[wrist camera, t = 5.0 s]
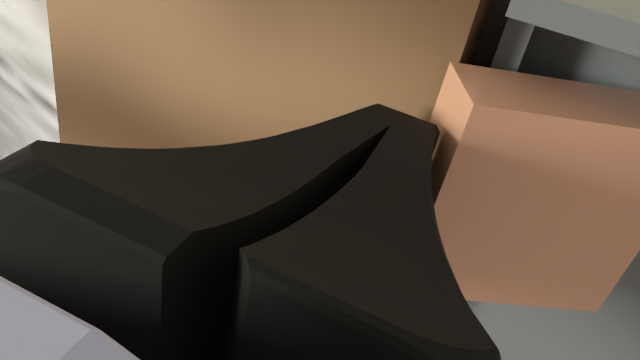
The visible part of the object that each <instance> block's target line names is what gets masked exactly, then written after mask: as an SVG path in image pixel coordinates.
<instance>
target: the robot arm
mask: <svg viewBox="0 0 640 360" xmlns="http://www.w3.org/2000/svg"><path fill="white" fill-rule="evenodd" d="M439 134H440V131H439V129H438V127H437V125H436V124H433V123H430V122H428V121H425V120H422V119H419V118H417V117H414V116H411V115H408V114H406V113H403V112H400V111H397V110H395V109H392V108H389V107H386V106H384V105H381V104H374V105H371V106H368V107H365V108H362V109H359V110H356V111H353V112H350V113H348V114H345V115H342V116H339V117H336V118H333V119H330V120H327V121H324V122H321V123H318V124H315V125H312V126H308V127H304V128H301V129H297V130H293V131H290V132H286V133H282V134H279V135H275V136H270V137H266V138H261V139H256V140H250V141H244V142H238V143H231V144H223V145H213V146H199V147H185V148H160V149H142V148H113V147H98V146H87V145H77V144H67V143H56V142H47V141H40V140H37V141H35V142H33V143H32V144H30V145H28V146H26V147H24V148H22V149H20V150H19V151H17V152H15V153H13V154H11V155H9V156H7V157H6V158H4V159H2V160H0V360H501V355H500V352H499V350H498V348H497V346H496V345H495V343H494V342H493V340H492V339H491V337H490V336H489V335H488V333H487V332H486V330H485V329H484V327H483V326H482V324H481V323H480V322H479V320H478V319H477V317H476V316H475V314H474V313H473V311H472V310H471V308H470V307H469V305H468V303H467V301H466V299H465V298H464V296H463V294H462V292H461V290H460V287H459V285H458V283H457V280H456V278H455V276H454V273H453V271H452V269H451V266H450V264H449V262H448V259H447V256H446V253H445V250H444V247H443V244H442V241H441V237H440V233H439V229H438V225H437V221H436V216H435V210H434V203H433V194H432V155H433V152H434V149H435V146H436V143H437V140H438V137H439Z"/></svg>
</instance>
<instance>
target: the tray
mask: <svg viewBox="0 0 640 360" xmlns="http://www.w3.org/2000/svg"><path fill="white" fill-rule="evenodd" d="M505 16H506V17H509V18H508V20H507V23H506V26H505V28H504V31H503V34H502V37H501V39H500V42H499V45H498V48H497V50H496V53H495V56H494V58H493V61H492V64H491V67H490V68H494V69H501V70H507V71H513V72H520V73H526V74H532V75H539V76H545V77H551V78H558V79H564V80H570V81H577V82H583V83H589V84H596V85H602V86H608V87H615V88H621V89H627V90H634V91H640V0H511V1H510V4H509V7H508V9H507V12H506V15H505ZM466 301H467V300H466ZM467 303H468V305H469V307H470V308H471V310H472V311H473V313H474V314H475V316H476V317H477V319H478V320H479V322H480V323H481V324H482V326H483V327H484V329H485V330H486V332H487V333H488V335H489V336H490V337H491V339H492V340H493V342H494V343H495V345H496V346H497V348H498V350H499V352H500V355H501V360H640V250H639V252H638V253H637V255H636V256H635V258H634V259H633V261H632V262H631V263H630V265H629V266H628V268H627V269H626V271H625V272H624V274H623V275H622V276H621V278H620V279H619V281H618V282H617V284H616V285H615V287H614V288H613V289H612V291H611V292H610V294H609V295H608V297H607V298H606V299H605V301H604V302H603V304H602V305H601V307H600V308H599V310H598V311H597V312H592V311H580V310H569V309H558V308H546V307H535V306H524V305H513V304H501V303H490V302H479V301H467Z"/></svg>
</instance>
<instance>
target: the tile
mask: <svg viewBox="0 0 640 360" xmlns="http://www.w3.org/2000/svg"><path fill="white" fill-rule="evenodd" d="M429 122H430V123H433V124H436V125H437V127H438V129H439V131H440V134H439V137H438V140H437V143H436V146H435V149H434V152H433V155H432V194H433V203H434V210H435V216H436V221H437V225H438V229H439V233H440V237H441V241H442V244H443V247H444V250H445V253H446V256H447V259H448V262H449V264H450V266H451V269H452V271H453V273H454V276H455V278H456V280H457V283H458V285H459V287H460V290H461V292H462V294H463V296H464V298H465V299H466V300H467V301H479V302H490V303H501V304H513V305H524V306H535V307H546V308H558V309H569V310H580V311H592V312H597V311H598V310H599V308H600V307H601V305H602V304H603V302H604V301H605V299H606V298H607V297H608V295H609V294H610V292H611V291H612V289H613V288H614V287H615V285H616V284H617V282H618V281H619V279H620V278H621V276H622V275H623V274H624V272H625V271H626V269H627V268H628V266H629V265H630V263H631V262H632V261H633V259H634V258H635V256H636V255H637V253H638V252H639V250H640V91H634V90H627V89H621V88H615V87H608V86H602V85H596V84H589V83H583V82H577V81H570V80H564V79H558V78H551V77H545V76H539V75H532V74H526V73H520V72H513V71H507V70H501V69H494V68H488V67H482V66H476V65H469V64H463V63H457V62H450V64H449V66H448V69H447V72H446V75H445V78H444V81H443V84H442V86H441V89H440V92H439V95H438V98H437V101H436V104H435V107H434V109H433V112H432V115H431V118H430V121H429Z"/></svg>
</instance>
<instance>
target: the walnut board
mask: <svg viewBox="0 0 640 360" xmlns="http://www.w3.org/2000/svg"><path fill="white" fill-rule="evenodd" d="M493 2H494V0H47V10H48V20H49V31H50V41H51V51H52V62H53V72H54V82H55V93H56V103H57V113H58V123H59V134H60V143H67V144H77V145H87V146H98V147H113V148H142V149H160V148H185V147H199V146H213V145H223V144H231V143H238V142H244V141H250V140H256V139H261V138H266V137H270V136H275V135H279V134H282V133H286V132H290V131H293V130H297V129H301V128H304V127H308V126H312V125H315V124H318V123H321V122H324V121H327V120H330V119H333V118H336V117H339V116H342V115H345V114H348V113H350V112H353V111H356V110H359V109H362V108H365V107H368V106H371V105H374V104H381V105H384V106H386V107H389V108H392V109H395V110H397V111H400V112H403V113H406V114H408V115H411V116H414V117H417V118H419V119H422V120H425V121H428V122H429V121H430V118H431V115H432V112H433V109H434V107H435V104H436V101H437V98H438V95H439V92H440V89H441V86H442V84H443V81H444V78H445V75H446V72H447V69H448V66H449V64H450V62H457V63H463V64H469V65H472V62H473V59H474V56H475V54H476V51H477V48H478V45H479V42H480V39H481V36H482V33H483V30H484V28H485V25H486V22H487V19H488V16H489V13H490V10H491V7H492V4H493Z"/></svg>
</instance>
